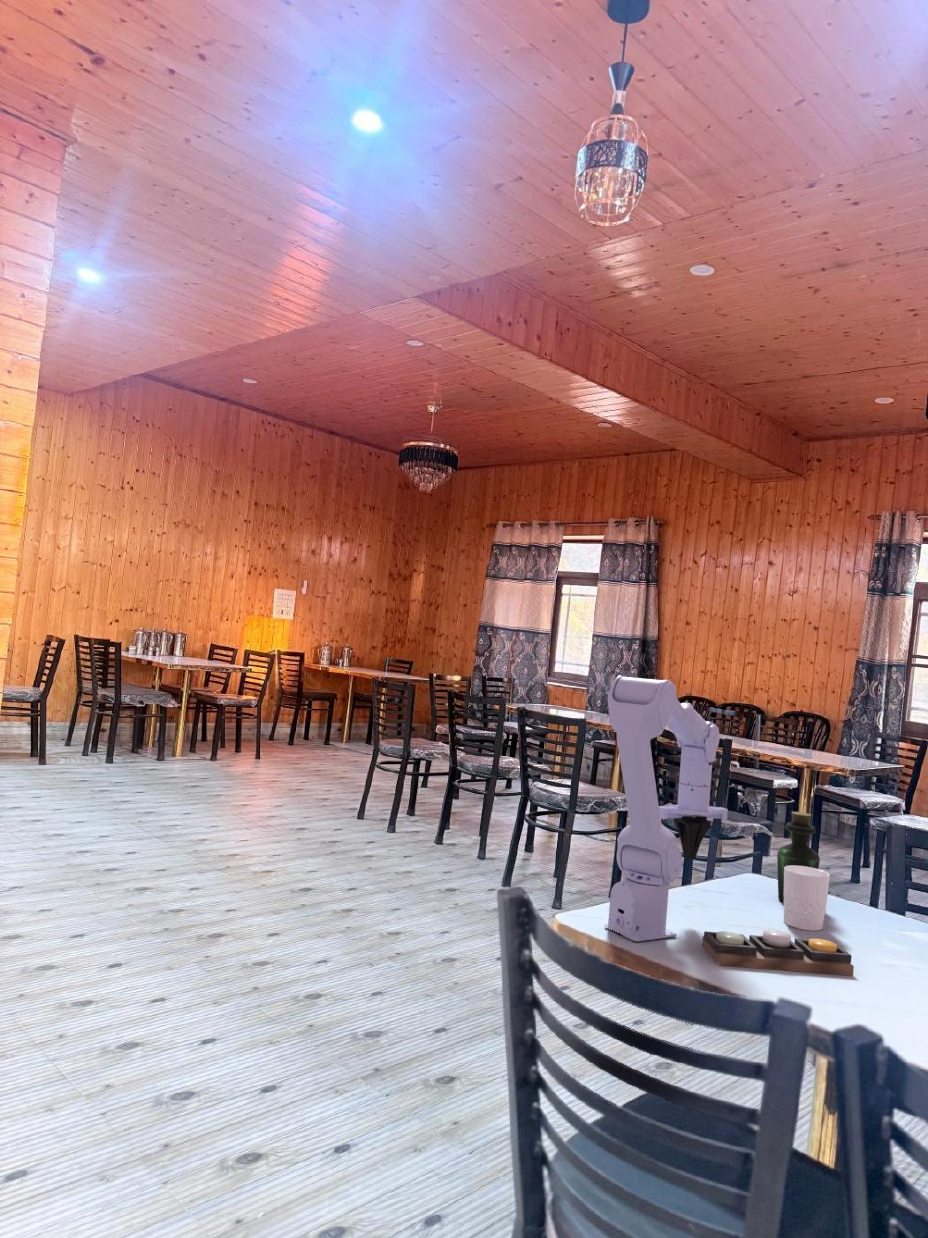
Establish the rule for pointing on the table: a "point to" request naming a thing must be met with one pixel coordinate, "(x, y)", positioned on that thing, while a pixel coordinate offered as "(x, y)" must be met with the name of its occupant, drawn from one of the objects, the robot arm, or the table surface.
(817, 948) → the amber button
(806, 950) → the button panel
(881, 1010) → the table surface
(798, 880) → the white cup
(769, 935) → the pale pink button
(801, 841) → the potion bottle
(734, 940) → the sage button
